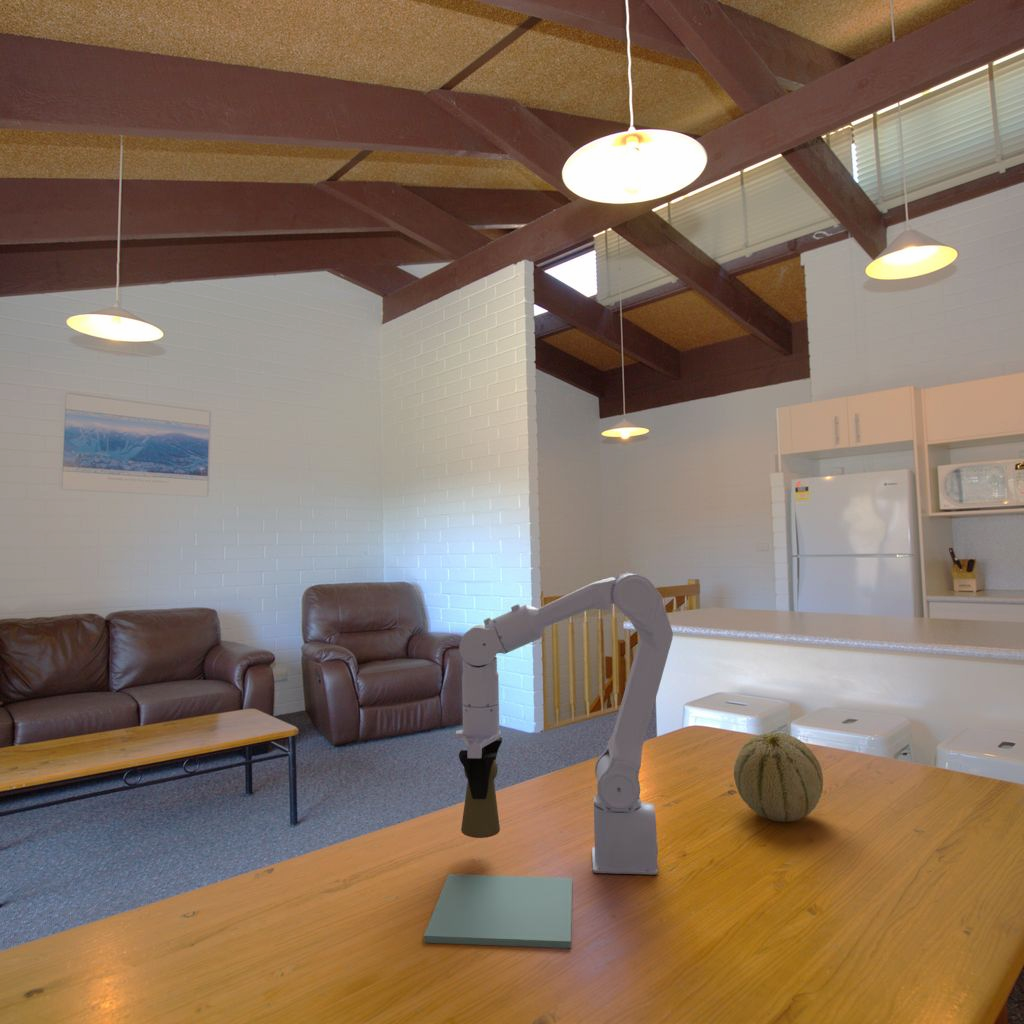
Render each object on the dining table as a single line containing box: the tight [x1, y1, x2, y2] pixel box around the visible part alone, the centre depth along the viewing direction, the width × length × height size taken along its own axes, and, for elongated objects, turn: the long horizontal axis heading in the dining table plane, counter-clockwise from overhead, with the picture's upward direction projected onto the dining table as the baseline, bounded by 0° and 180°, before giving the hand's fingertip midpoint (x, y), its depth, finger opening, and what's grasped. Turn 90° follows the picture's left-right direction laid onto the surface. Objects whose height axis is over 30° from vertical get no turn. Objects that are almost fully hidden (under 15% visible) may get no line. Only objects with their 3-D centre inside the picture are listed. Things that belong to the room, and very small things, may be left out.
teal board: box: [423, 873, 573, 949], centre depth 92 cm, size 18×16×1 cm
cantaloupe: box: [733, 732, 824, 823], centre depth 122 cm, size 15×15×15 cm
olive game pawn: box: [460, 760, 501, 839], centre depth 107 cm, size 6×6×11 cm
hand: (482, 791), depth 107 cm, fingers closed on olive game pawn, 5 cm apart
